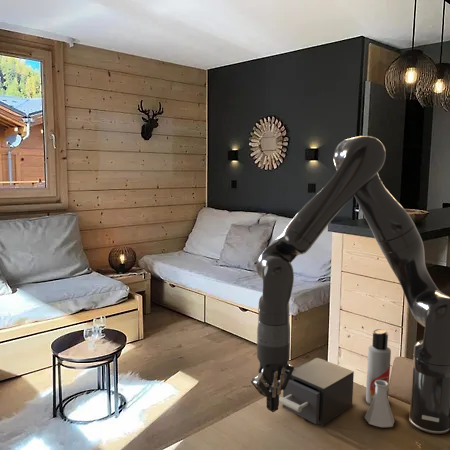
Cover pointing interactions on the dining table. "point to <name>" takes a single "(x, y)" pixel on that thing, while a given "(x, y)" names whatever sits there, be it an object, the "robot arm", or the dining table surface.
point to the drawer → (302, 400)
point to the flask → (380, 407)
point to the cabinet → (327, 386)
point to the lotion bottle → (378, 363)
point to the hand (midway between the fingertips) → (272, 409)
